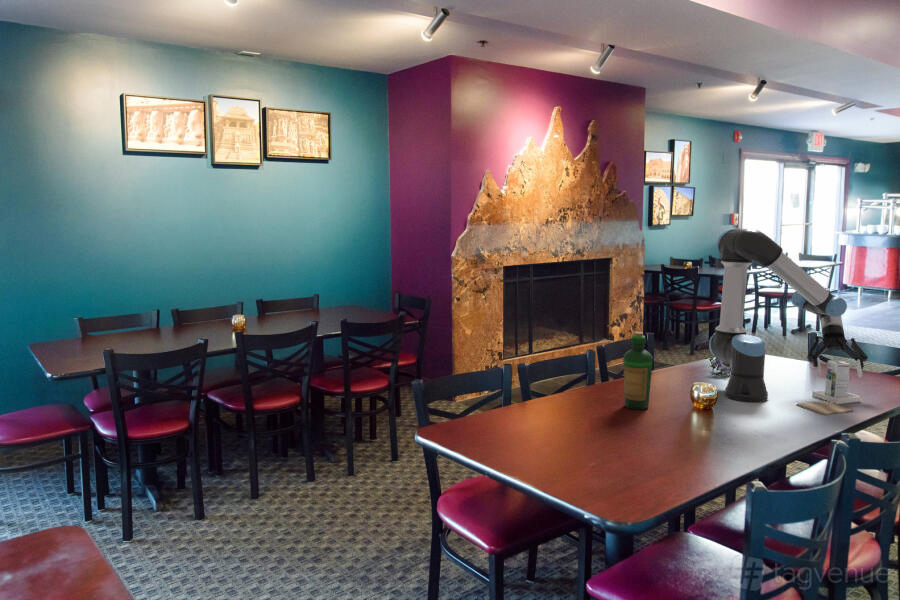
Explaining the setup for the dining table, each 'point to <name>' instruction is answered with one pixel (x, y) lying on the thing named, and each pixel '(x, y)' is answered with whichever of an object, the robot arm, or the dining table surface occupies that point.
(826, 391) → the syrup box
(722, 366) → the passion flower
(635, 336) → the bottle
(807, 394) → the dining table surface
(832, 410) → the mat
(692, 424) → the dining table surface
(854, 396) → the white square frame
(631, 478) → the dining table surface
